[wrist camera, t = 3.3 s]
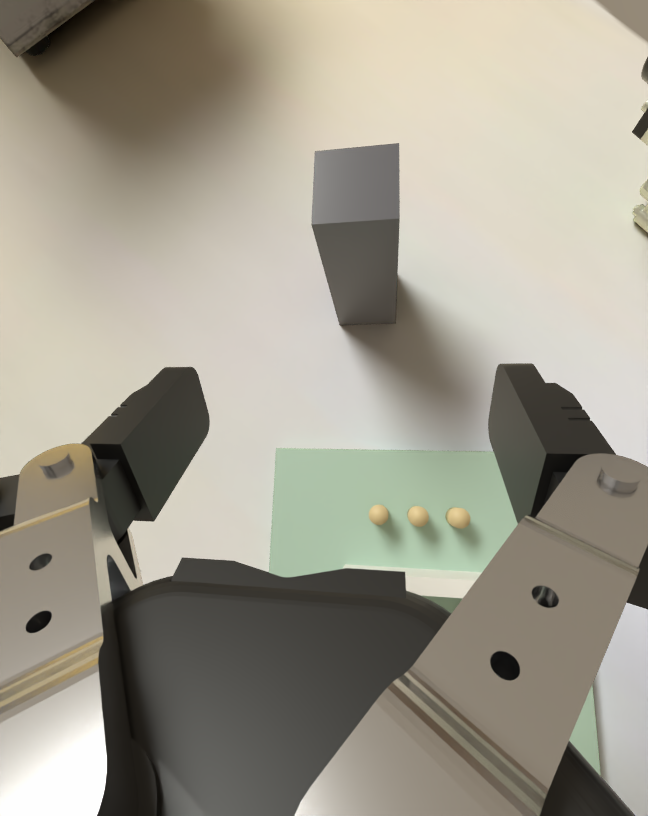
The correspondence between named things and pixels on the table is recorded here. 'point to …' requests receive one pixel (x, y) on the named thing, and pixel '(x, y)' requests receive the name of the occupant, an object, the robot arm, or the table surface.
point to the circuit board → (398, 525)
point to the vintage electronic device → (34, 22)
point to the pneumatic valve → (644, 131)
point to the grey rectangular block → (358, 230)
